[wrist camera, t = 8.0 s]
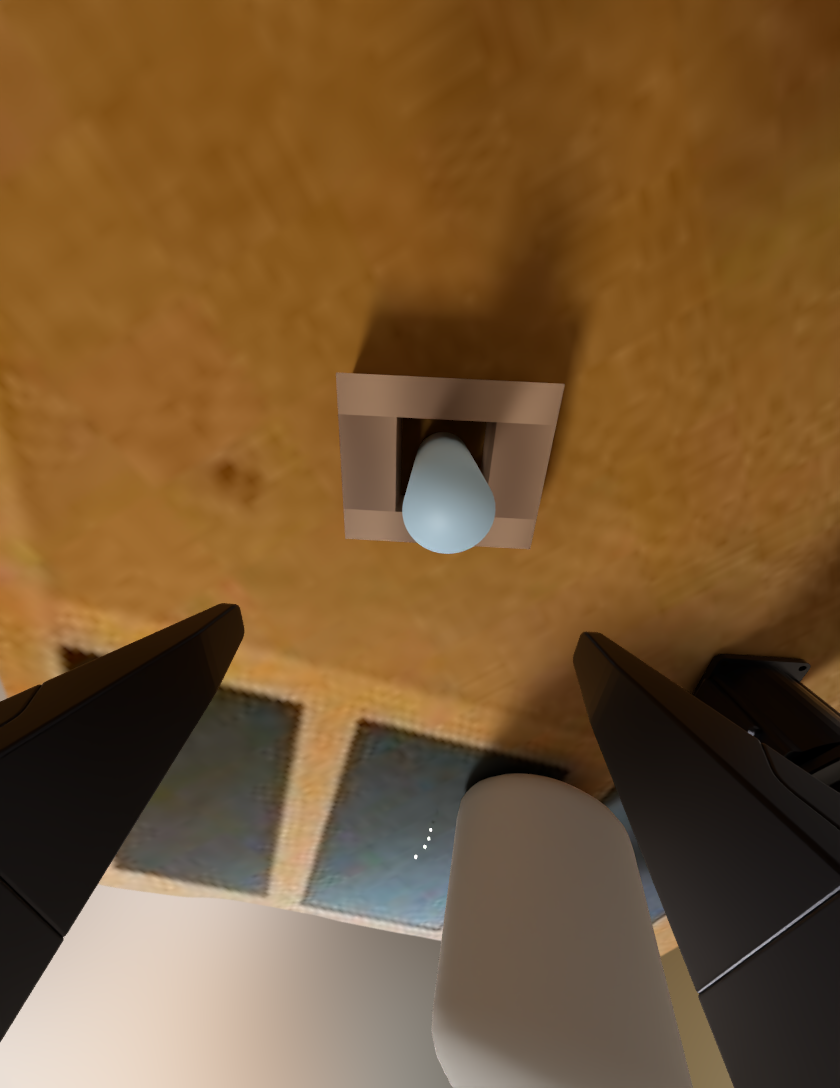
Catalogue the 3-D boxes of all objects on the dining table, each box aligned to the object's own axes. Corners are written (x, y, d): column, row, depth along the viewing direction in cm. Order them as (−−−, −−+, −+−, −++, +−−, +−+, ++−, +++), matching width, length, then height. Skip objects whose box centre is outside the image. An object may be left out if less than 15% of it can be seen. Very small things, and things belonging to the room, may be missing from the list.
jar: (430, 842, 37) (424, 1565, 14) (397, 762, 31) (295, 1791, 8) (605, 831, 34) (937, 1681, 12) (607, 741, 28) (1289, 2124, 6)
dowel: (471, 433, 18) (502, 468, 10) (465, 486, 19) (488, 556, 11) (417, 430, 18) (403, 462, 10) (415, 483, 19) (401, 550, 11)
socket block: (543, 385, 17) (564, 383, 14) (517, 528, 20) (529, 549, 18) (351, 375, 17) (335, 372, 14) (357, 518, 20) (345, 538, 18)
